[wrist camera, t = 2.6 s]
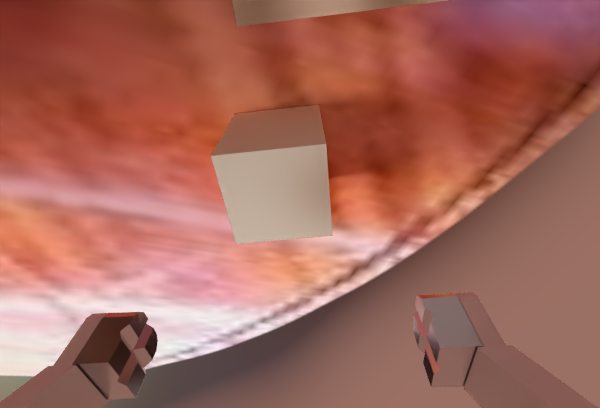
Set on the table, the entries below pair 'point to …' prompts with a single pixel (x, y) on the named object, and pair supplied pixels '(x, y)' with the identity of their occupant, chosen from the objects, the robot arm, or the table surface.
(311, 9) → the tower base
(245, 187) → the cream block
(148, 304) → the table surface
